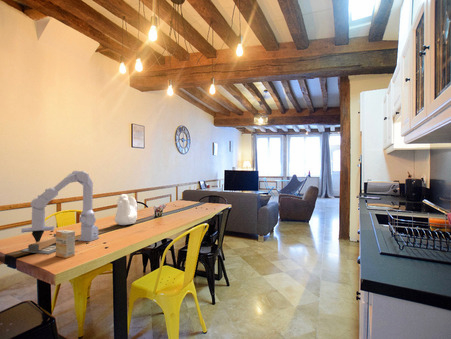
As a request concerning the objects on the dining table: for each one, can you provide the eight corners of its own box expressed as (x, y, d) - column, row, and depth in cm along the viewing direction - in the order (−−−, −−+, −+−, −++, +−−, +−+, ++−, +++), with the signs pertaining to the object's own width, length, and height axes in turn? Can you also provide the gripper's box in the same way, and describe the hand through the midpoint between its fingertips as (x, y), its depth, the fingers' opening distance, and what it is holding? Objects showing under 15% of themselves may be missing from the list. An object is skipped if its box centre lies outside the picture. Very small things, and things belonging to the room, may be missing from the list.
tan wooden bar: (54, 241, 145) (54, 233, 144) (61, 242, 144) (61, 233, 144) (28, 252, 126) (28, 243, 126) (35, 252, 126) (35, 243, 126)
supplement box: (55, 256, 124) (55, 231, 124) (64, 253, 129) (64, 228, 129) (66, 258, 121) (66, 232, 121) (75, 255, 126) (75, 230, 126)
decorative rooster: (125, 228, 182) (125, 195, 182) (109, 226, 188) (109, 194, 188) (147, 221, 205) (147, 192, 205) (132, 219, 211) (132, 191, 211)
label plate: (68, 247, 138) (68, 245, 138) (48, 254, 127) (48, 253, 127) (42, 244, 142) (42, 243, 142) (21, 251, 130) (21, 249, 130)
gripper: (56, 217, 140) (55, 240, 140) (25, 219, 135) (24, 243, 135) (52, 220, 133) (52, 244, 133) (19, 221, 128) (19, 247, 128)
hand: (38, 244), depth 134 cm, fingers closed
